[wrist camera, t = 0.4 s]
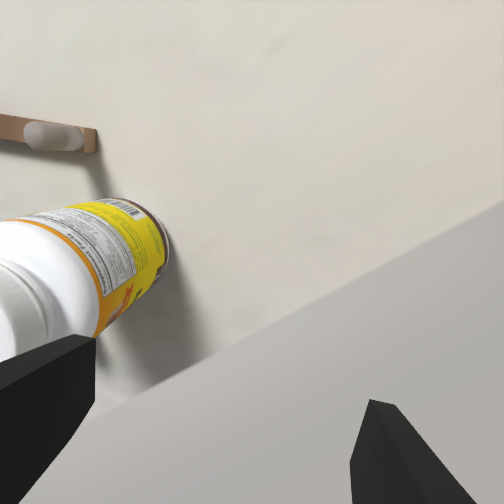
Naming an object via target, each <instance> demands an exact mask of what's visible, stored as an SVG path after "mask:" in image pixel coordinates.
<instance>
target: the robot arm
mask: <svg viewBox="0 0 504 504" xmlns="http://www.w3.org/2000/svg"><path fill="white" fill-rule="evenodd" d="M95 356H96V338H91V337H87V336H82V335H78V334H72V335H69V336H66V337H63V338H60V339H58V340H55V341H52V342H50V343H47V344H45V345H42V346H40V347H37V348H35V349H32V350H30V351H27V352H25V353H22V354H20V355H17V356H15V357H12V358H10V359H7V360H4V361H2V362H0V504H18V503H19V502H20V501H21V500H22V499H23V497H24V496H25V495H26V494H27V492H28V491H29V490H30V489H31V488H32V486H33V485H34V484H35V482H36V481H37V480H38V479H39V478H40V477H41V475H42V474H43V473H44V472H45V470H46V469H47V468H48V467H49V465H50V464H51V463H52V462H53V460H54V459H55V458H56V457H57V455H58V454H59V453H60V452H61V450H62V449H63V448H64V447H65V445H66V444H67V443H68V442H69V440H70V439H71V438H72V436H73V435H74V433H75V432H76V430H77V429H78V427H79V426H80V424H81V423H82V421H83V419H84V418H85V416H86V415H87V413H88V411H89V410H90V408H91V407H92V405H93V403H94V402H95ZM350 476H351V491H352V503H353V504H476V502H475V501H474V500H473V499H472V498H471V497H470V496H469V494H468V493H467V492H466V491H465V490H464V488H463V487H462V486H461V485H460V484H459V483H458V481H457V480H456V479H455V478H454V477H453V475H452V474H451V473H450V472H449V471H448V470H447V468H446V467H445V466H444V464H442V462H441V461H440V460H439V458H438V457H437V456H436V455H435V453H434V452H433V451H432V450H431V449H430V447H429V446H428V445H427V444H426V442H425V441H424V440H423V439H422V437H421V436H420V435H419V434H418V433H417V431H416V430H415V429H414V427H413V426H412V425H411V424H410V422H409V421H408V420H407V419H406V417H405V416H404V415H403V414H402V413H401V411H399V409H398V408H397V407H396V406H395V405H393V404H389V403H384V402H380V401H375V400H371V399H370V400H369V403H368V406H367V409H366V413H365V416H364V418H363V422H362V425H361V428H360V431H359V435H358V437H357V441H356V444H355V447H354V450H353V454H352V457H351V460H350Z"/></svg>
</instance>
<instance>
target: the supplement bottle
mask: <svg viewBox="0 0 504 504" xmlns="http://www.w3.org/2000/svg"><path fill="white" fill-rule="evenodd" d="M168 259H169V243H168V239H167V235H166V232H165V230H164V228H163V226H162V224H161V223H160V221H159V220H158V219H157V217H156V216H155V215H154V214H153V213H152V212H151V211H150V210H149V209H147V208H146V207H144V206H143V205H141V204H139V203H138V202H135V201H133V200H130V199H126V198H116V197H113V198H105V199H100V200H95V201H90V202H86V203H81V204H77V205H72V206H67V207H63V208H58V209H54V210H49V211H44V212H39V213H35V214H31V215H26V216H22V217H18V218H14V219H9V220H5V221H0V362H2V361H4V360H7V359H10V358H12V357H15V356H17V355H20V354H22V353H25V352H27V351H30V350H32V349H35V348H37V347H40V346H42V345H45V344H47V343H50V342H52V341H55V340H58V339H60V338H63V337H66V336H69V335H72V334H78V335H82V336H87V337H91V338H95V337H96V336H98V335H99V334H100V333H101V332H102V331H103V330H104V329H105V328H106V327H108V326H109V325H110V324H111V323H112V322H113V321H114V320H115V319H116V318H117V317H119V316H120V315H121V314H122V313H123V312H124V311H125V310H127V309H128V308H129V307H130V306H131V305H132V304H133V303H134V302H135V301H136V300H137V299H138V298H139V297H141V296H142V295H143V294H144V293H145V292H146V291H147V290H148V289H149V288H151V287H152V286H153V285H154V284H155V283H156V282H157V281H158V280H159V278H160V277H161V276H162V274H163V272H164V270H165V268H166V266H167V263H168Z"/></svg>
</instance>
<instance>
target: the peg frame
mask: <svg viewBox="0 0 504 504" xmlns="http://www.w3.org/2000/svg"><path fill="white" fill-rule="evenodd" d="M0 139H6V140H12V141H18V142H24V143H27V144H28V145H29V146H30V147H31V148H32V149H34V150H48V151H77V152H83V153H96V129H91V128H84V127H78V126H72V125H66V124H60V123H53V122H47V121H41V120H35V119H29V118H23V117H16V116H10V115H4V114H0Z"/></svg>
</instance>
